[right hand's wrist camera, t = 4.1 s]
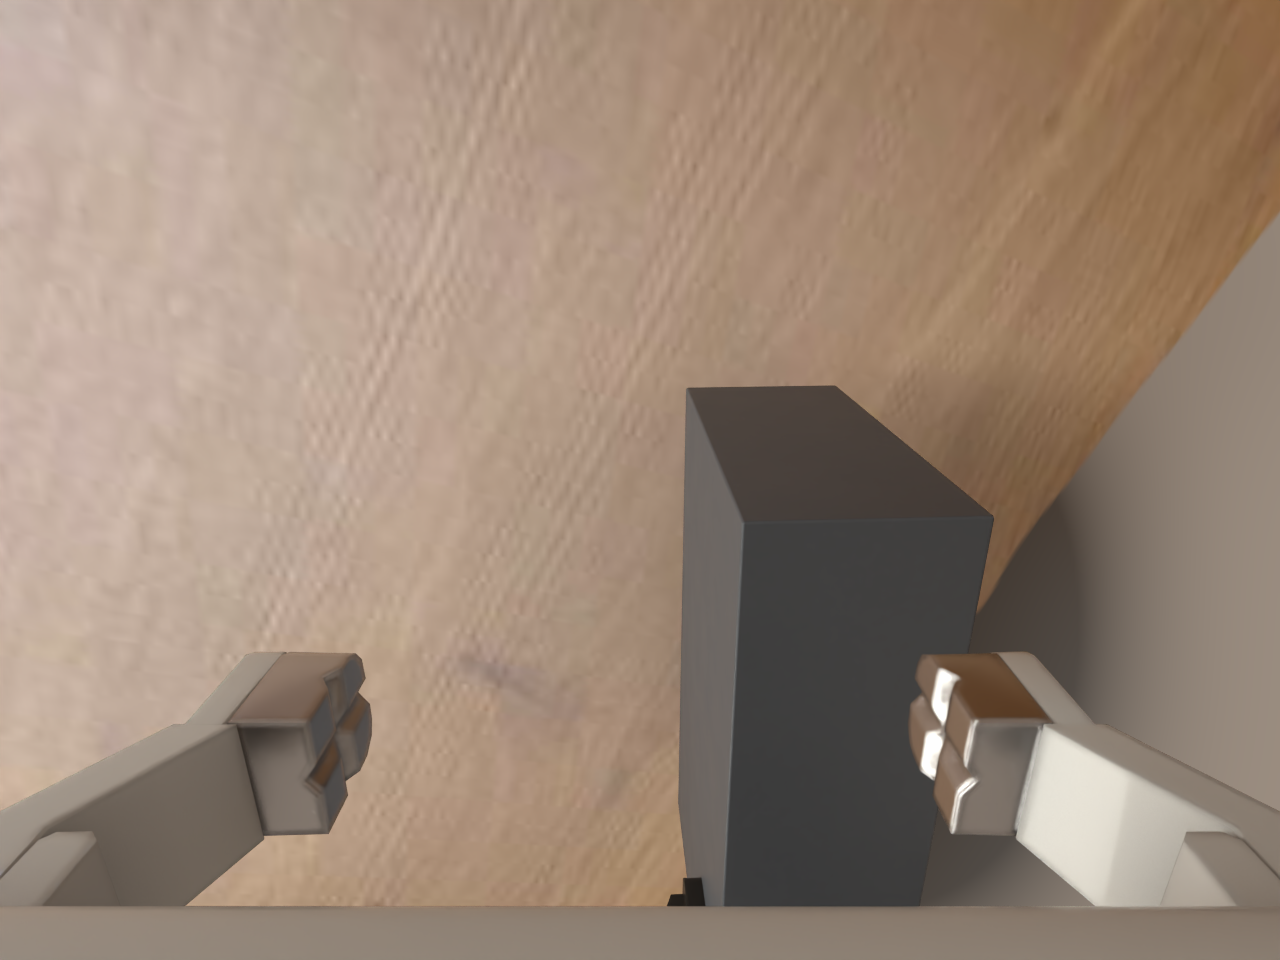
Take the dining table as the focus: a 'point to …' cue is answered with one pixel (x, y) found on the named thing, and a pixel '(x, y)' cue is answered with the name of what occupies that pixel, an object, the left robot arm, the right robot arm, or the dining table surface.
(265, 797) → the right robot arm
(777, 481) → the box
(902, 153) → the dining table surface
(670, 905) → the left robot arm
